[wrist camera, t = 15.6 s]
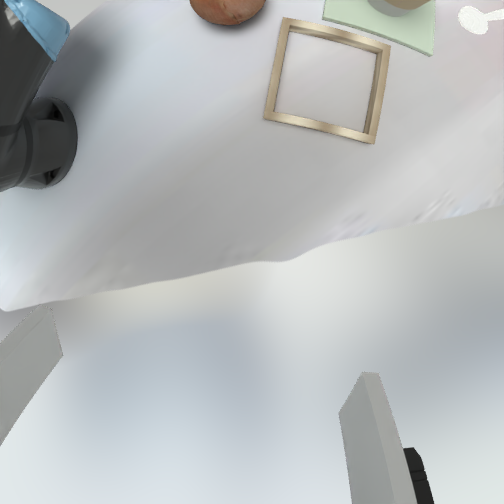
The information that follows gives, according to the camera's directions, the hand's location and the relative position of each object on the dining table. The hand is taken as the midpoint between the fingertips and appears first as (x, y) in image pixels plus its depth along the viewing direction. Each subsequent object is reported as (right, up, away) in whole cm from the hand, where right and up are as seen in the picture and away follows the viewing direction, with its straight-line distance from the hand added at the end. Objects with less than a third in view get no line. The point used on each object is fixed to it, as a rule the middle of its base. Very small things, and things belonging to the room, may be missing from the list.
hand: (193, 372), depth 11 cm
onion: (0, +38, +19) cm, 42 cm away
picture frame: (+12, +27, +22) cm, 37 cm away
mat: (+21, +40, +16) cm, 48 cm away
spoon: (+42, +44, +14) cm, 62 cm away
